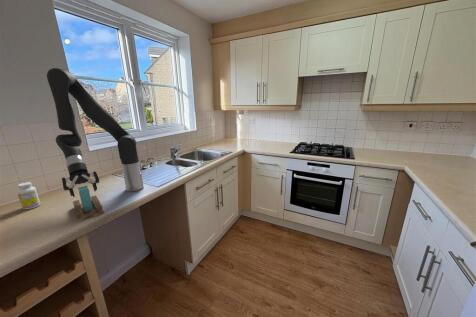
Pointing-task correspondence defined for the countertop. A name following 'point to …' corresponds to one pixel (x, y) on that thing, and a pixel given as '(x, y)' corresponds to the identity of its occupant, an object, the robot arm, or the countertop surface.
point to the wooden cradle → (91, 213)
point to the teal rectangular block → (85, 198)
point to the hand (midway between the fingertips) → (84, 193)
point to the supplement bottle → (28, 196)
